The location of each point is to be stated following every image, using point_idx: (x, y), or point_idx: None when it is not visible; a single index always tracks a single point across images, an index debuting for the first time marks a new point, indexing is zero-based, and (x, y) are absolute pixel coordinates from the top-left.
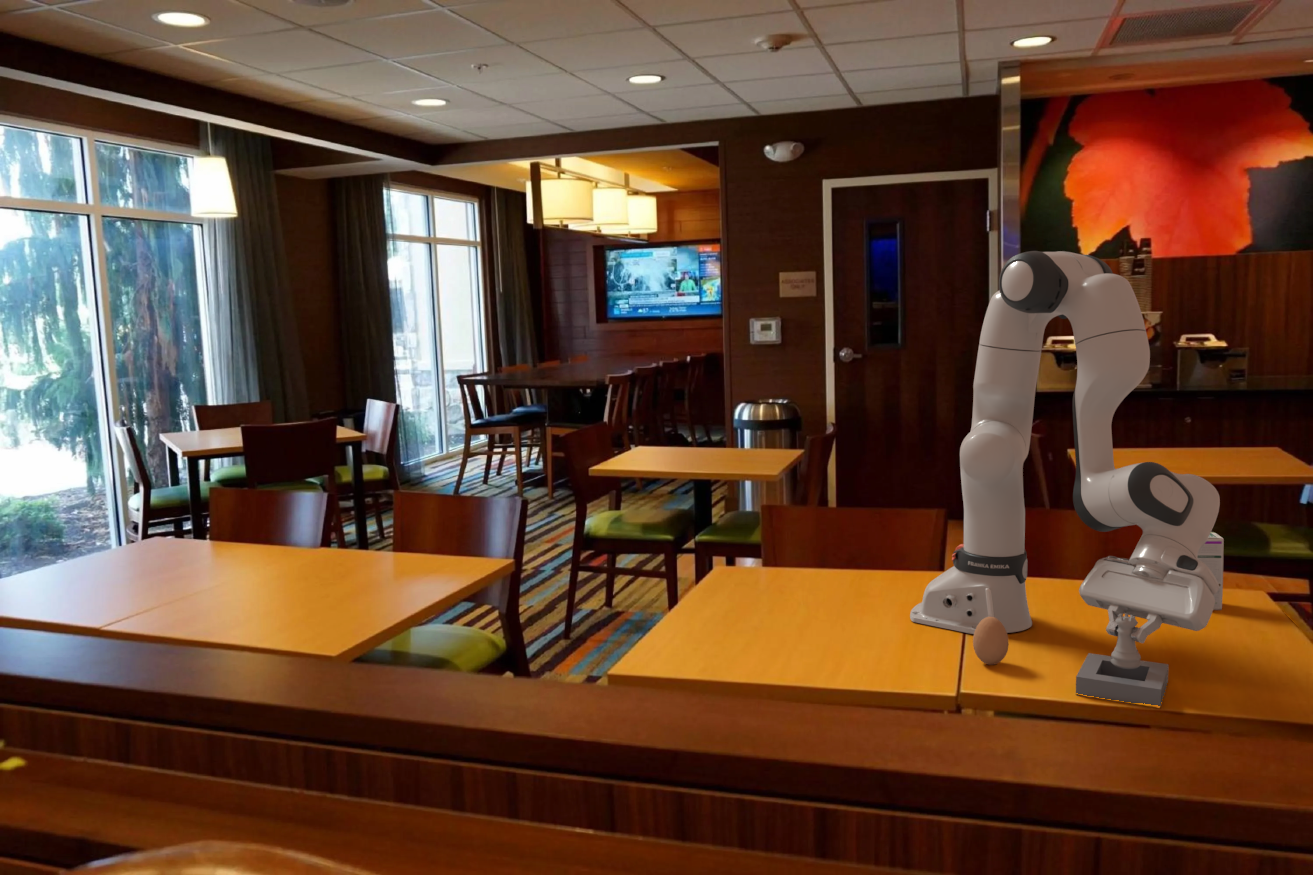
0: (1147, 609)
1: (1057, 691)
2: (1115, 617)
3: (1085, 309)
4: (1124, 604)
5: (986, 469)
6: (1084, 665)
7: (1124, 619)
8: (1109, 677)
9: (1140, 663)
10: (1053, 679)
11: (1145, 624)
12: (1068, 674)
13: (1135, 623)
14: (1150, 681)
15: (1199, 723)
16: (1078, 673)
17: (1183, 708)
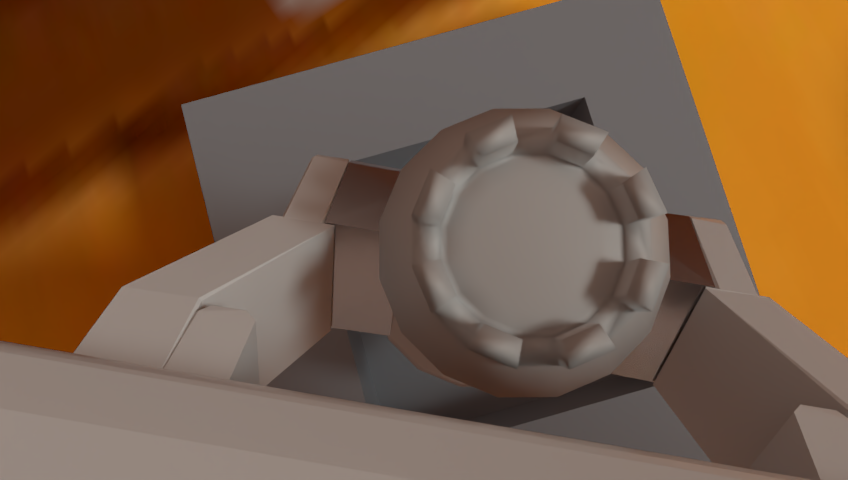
0: (208, 376)
1: (709, 14)
2: (752, 428)
3: None
4: (723, 464)
5: None
6: (710, 195)
7: (529, 163)
8: (494, 93)
9: None
10: (815, 162)
11: (261, 254)
12: (796, 292)
13: (386, 216)
14: (277, 194)
15: (16, 80)
16: (667, 35)
17: (133, 218)
